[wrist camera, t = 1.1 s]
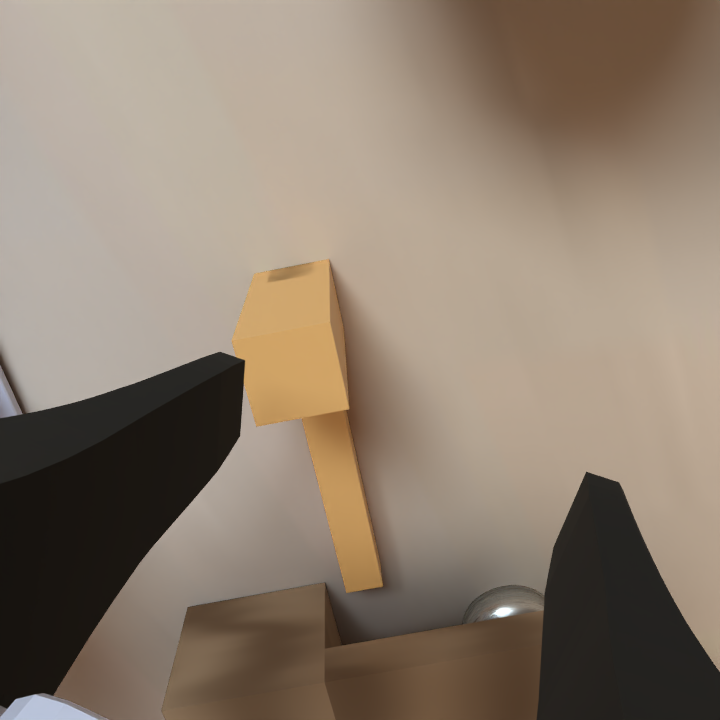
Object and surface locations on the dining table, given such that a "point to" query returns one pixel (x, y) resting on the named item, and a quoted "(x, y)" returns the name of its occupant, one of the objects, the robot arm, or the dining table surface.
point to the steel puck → (504, 603)
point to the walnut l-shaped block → (347, 666)
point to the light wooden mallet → (310, 397)
